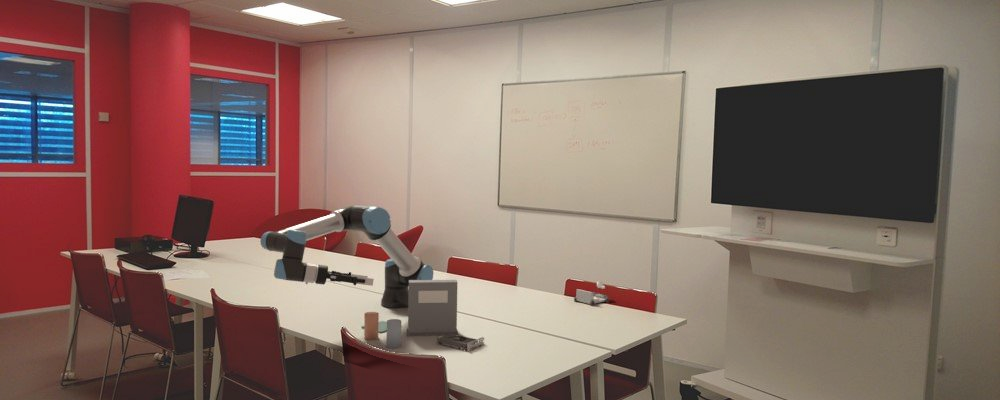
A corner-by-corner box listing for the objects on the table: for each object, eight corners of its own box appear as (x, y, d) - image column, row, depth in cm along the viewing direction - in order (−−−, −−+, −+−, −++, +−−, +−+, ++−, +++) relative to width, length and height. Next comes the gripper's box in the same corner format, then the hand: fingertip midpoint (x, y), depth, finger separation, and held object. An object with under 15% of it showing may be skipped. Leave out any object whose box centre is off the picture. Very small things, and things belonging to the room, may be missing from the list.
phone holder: (596, 279, 328) (613, 283, 320) (595, 297, 329) (612, 301, 320) (574, 283, 316) (591, 287, 308) (573, 302, 317) (591, 306, 308)
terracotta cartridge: (361, 338, 245) (361, 313, 245) (371, 335, 250) (372, 311, 249) (370, 340, 242) (371, 316, 241) (381, 337, 247) (381, 313, 246)
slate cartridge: (383, 346, 235) (383, 321, 234) (394, 343, 240) (394, 318, 239) (393, 349, 232) (393, 323, 231) (404, 346, 236) (404, 320, 236)
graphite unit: (406, 331, 257) (407, 279, 255) (456, 330, 260) (457, 279, 258) (406, 335, 250) (407, 283, 248) (457, 334, 253) (458, 282, 251)
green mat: (361, 327, 260) (361, 326, 260) (382, 322, 270) (382, 320, 270) (380, 333, 253) (380, 331, 253) (401, 327, 263) (401, 325, 263)
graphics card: (486, 336, 241) (469, 343, 231) (486, 346, 241) (469, 353, 231) (452, 330, 250) (434, 336, 240) (452, 339, 250) (434, 345, 240)
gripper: (311, 280, 249) (362, 287, 257) (317, 286, 226) (374, 293, 234) (314, 262, 250) (366, 269, 258) (321, 266, 227) (377, 273, 235)
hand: (369, 280), depth 246 cm, fingers open, 13 cm apart
